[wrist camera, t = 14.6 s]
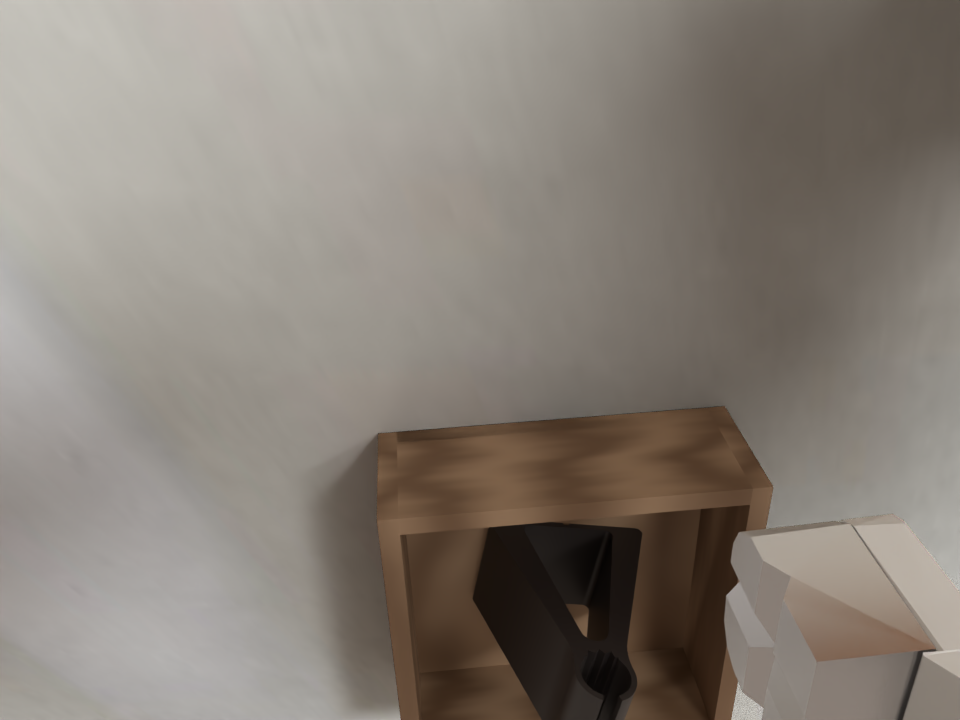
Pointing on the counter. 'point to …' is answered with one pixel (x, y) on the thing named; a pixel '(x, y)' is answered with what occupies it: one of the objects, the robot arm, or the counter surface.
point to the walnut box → (567, 499)
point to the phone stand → (563, 613)
